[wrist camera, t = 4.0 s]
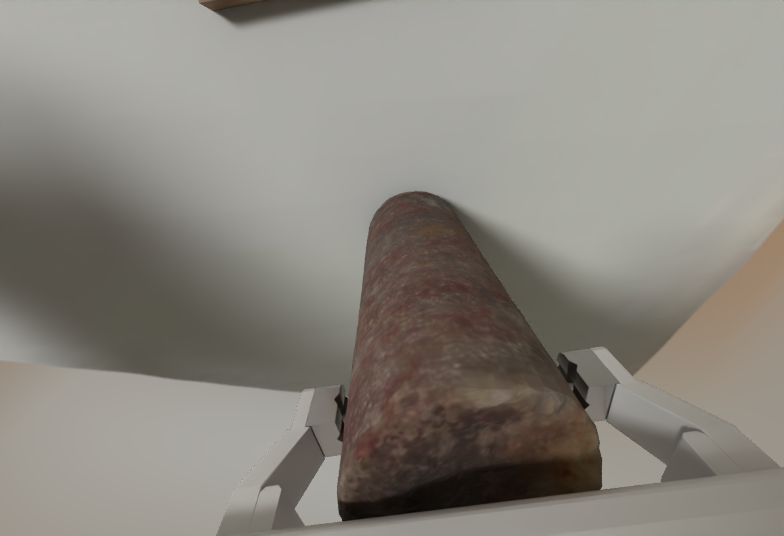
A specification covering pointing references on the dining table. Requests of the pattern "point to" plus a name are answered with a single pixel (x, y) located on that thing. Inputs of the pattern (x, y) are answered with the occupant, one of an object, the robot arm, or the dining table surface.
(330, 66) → the dining table surface
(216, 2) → the walnut board
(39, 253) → the dining table surface
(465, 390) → the wooden log
